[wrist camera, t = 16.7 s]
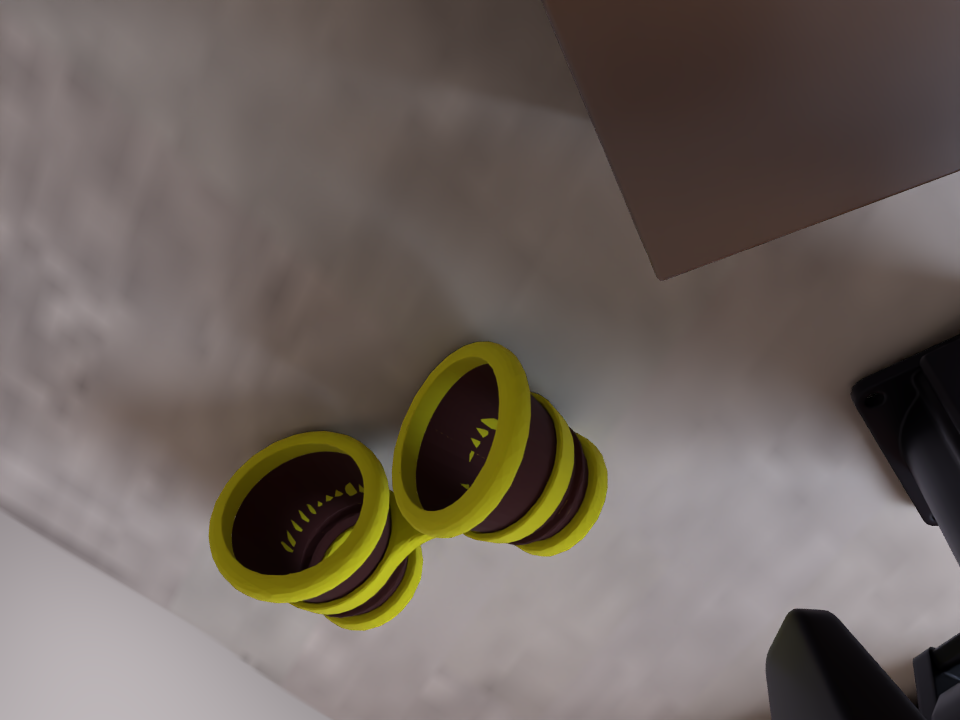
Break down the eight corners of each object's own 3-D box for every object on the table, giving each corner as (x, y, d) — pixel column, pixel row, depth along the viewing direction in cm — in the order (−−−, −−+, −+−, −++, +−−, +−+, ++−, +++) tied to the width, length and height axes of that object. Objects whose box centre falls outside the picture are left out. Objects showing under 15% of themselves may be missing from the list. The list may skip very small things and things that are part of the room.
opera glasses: (331, 525, 29) (331, 677, 26) (211, 451, 26) (194, 615, 22) (599, 403, 26) (638, 557, 23) (504, 298, 23) (535, 463, 19)
